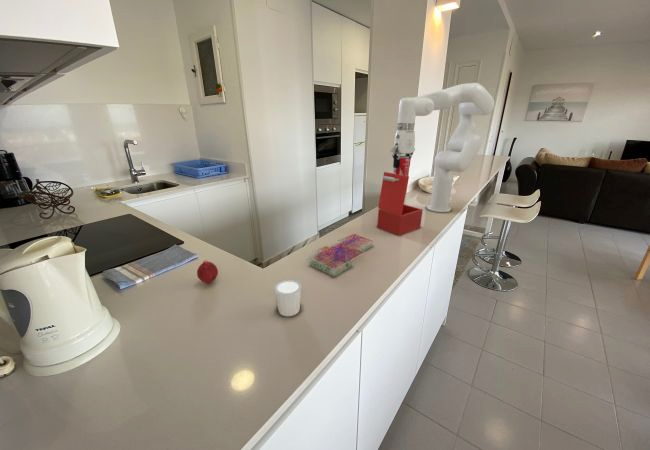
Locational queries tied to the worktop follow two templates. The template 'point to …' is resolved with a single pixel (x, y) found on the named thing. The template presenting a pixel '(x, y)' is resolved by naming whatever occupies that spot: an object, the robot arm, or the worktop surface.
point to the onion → (207, 271)
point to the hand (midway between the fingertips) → (401, 166)
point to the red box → (400, 220)
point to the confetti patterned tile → (350, 249)
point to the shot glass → (288, 297)
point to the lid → (393, 193)
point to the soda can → (403, 166)
